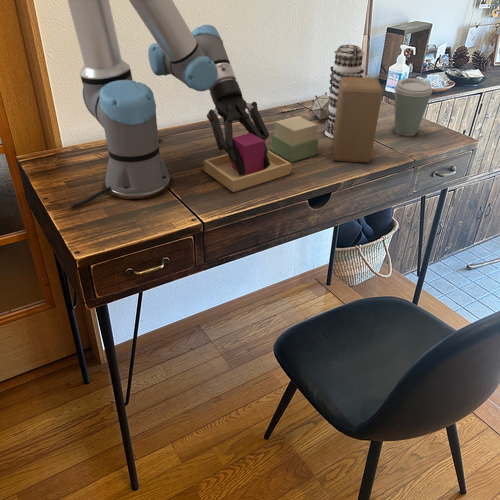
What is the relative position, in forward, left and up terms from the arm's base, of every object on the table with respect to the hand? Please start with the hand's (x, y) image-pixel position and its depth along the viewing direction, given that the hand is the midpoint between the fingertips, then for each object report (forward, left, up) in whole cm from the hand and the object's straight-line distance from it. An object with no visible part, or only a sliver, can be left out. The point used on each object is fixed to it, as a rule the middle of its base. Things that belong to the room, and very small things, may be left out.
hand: (254, 169), depth 121 cm
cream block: (+18, +7, +2) cm, 19 cm away
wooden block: (+30, -3, -2) cm, 30 cm away
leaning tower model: (+38, +10, -2) cm, 39 cm away
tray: (0, +4, -2) cm, 4 cm away
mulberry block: (0, +4, -1) cm, 4 cm away
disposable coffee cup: (+56, 0, -2) cm, 56 cm away
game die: (+42, +22, -2) cm, 47 cm away
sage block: (+18, +7, -2) cm, 19 cm away
